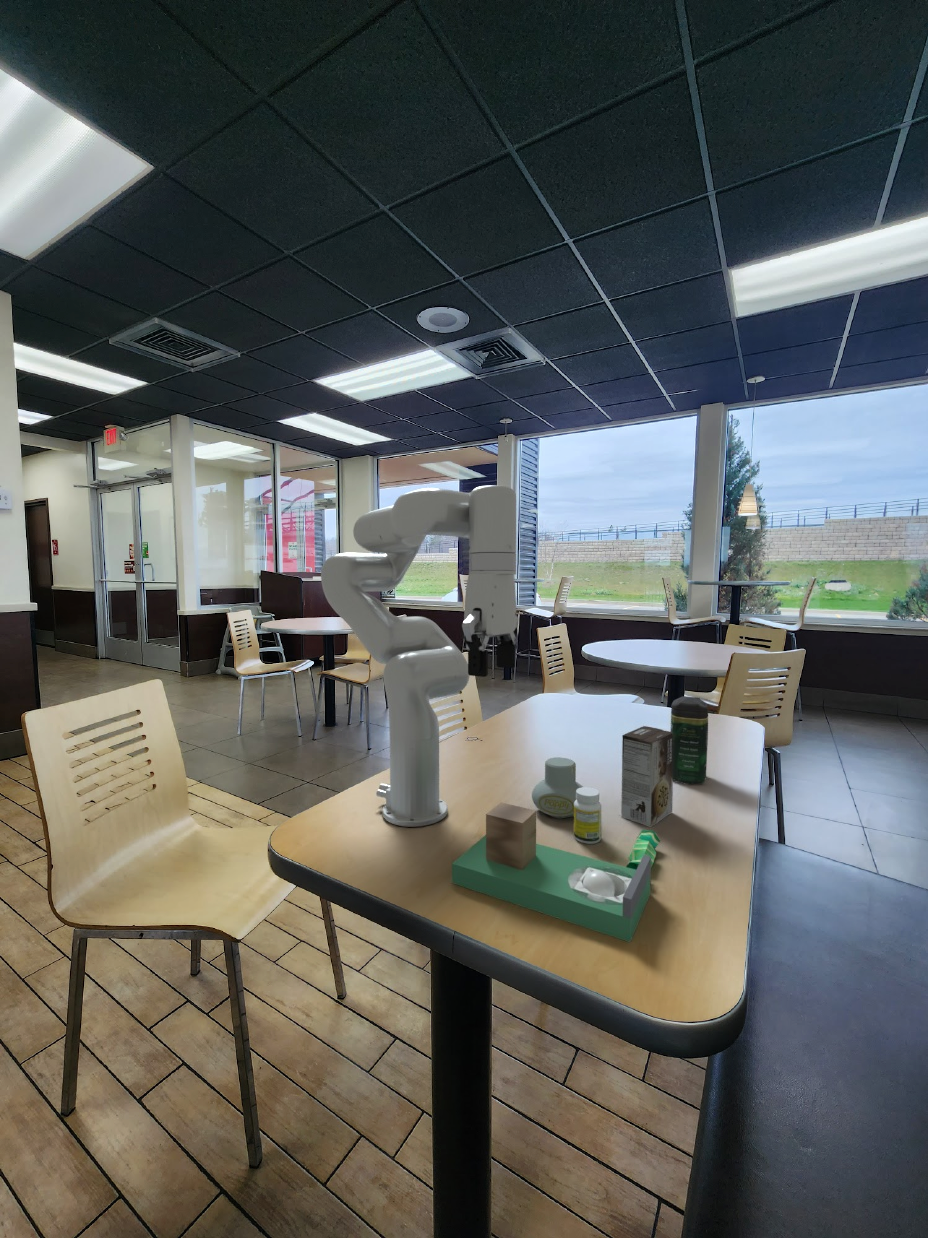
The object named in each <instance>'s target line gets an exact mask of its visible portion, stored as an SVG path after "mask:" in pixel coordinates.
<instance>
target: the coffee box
mask: <svg viewBox="0 0 928 1238" xmlns="http://www.w3.org/2000/svg"><path fill="white" fill-rule="evenodd" d="M673 733H674V732H670V731H669V730H664V729H661V728H657V727H651V726H647V725H642V726H640V727H639V728H636V729H633V730H632V731H628V732H627V733H625V734H624V733H623V734H622V741H621V742H622V745H621V747H622V750H621V753H622V754H621V757H622V758H621V760H622V761H621V811H620V813H621V815H620V816H621V818H623V819H627V820H629V821H632V822H634V823H638V824H641V825H644V826H646V827H649V828H650V827H651V828H652V827H653V826H655V825H656V824H658V823H659V822H660V821H662V820H663V819H665V818H666V817H667V816H669V815H670V814H671V813H673V796H674V795H673V792H674V791H673V790H674V787H673V785H674V782H673V781H674V780H673Z"/></svg>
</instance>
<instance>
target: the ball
mask: <svg viewBox="0 0 928 1238" xmlns="http://www.w3.org/2000/svg"><path fill="white" fill-rule="evenodd" d="M582 884H583V887H584V888H585V889H587V890H588V891H590V892H591V893H593V894H596V895H600V896H603V897H615V896H614V894H615V887H614V883H613V881H612V879H611V878H610V877H609V876H608V875H607V874H606V873H604V872H602V871H592V872H590V873H588V874H587V875H586V876H585V878H584V880H583V883H582Z"/></svg>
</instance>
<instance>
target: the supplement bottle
mask: <svg viewBox="0 0 928 1238" xmlns="http://www.w3.org/2000/svg"><path fill="white" fill-rule="evenodd" d="M573 838H574V839H575V840H576V841H578V842H580V843H583V844H588V845H594V844H597V843H600V841H601V839H602V803H601V801H600V791H599V790H598V789H596V788H593V787H588V786H587V787H586V786H585V787H584V786H583V787H581V788H578V789H577V790H576V800H575V802H574V816H573Z"/></svg>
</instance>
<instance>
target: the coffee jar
mask: <svg viewBox="0 0 928 1238" xmlns="http://www.w3.org/2000/svg"><path fill="white" fill-rule="evenodd" d="M708 705H709V704H707V702H706V701H704V700H703V699H701V698H700V697H695V696H693V697H692V696H684V695H683V696H681V697H678V698H676V699H674V700H673V701H672V703H671V705H670V707H671V710H670V731H669V732H674V733H673V781H677V782H679V783H681V784H684V783H685V785H697V784H699V785H702V784H704V783H705V781H706V779H707V768H708V767H707V766H708V765H707V763H708V762H707V761H708V746H709V745H708V741H709V707H708Z"/></svg>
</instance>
